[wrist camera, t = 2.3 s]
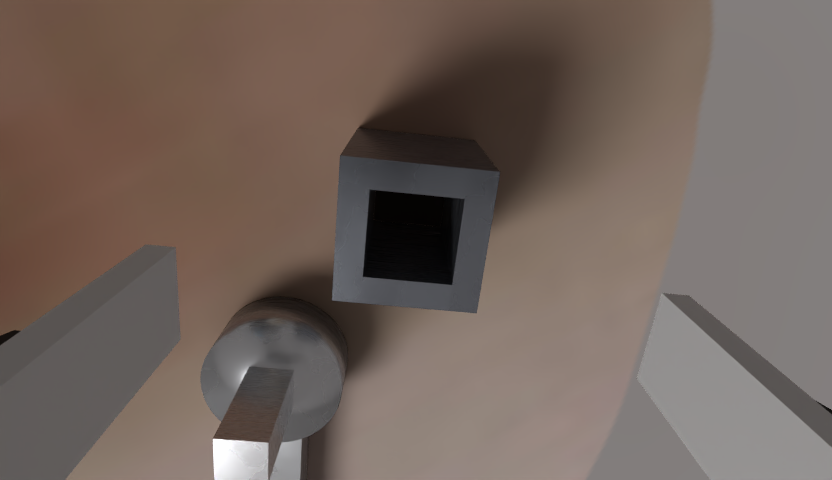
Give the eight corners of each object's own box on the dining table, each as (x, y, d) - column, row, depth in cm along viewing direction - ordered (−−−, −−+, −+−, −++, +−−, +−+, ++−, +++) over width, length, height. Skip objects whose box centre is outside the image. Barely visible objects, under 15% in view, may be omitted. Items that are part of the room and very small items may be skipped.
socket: (358, 127, 24) (339, 155, 17) (474, 140, 24) (500, 171, 18) (350, 238, 26) (331, 300, 19) (458, 248, 26) (476, 313, 20)
